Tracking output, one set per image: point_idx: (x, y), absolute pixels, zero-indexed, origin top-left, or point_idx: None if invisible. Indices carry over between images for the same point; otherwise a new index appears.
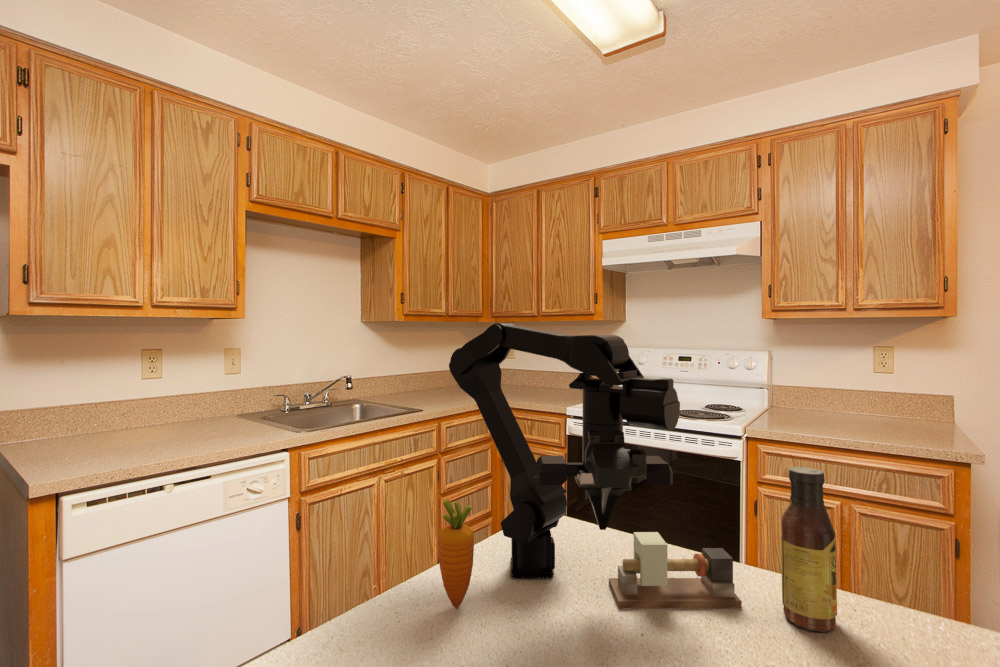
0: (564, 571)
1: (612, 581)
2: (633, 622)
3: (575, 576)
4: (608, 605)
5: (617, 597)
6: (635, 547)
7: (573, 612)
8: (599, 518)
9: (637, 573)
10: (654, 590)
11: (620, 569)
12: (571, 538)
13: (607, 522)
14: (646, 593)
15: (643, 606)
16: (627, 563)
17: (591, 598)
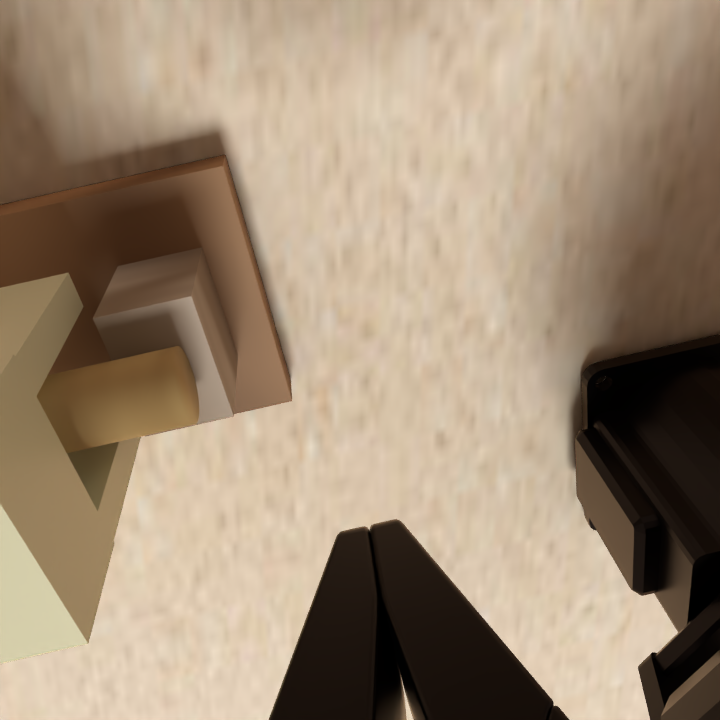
0: (515, 448)
1: (270, 374)
2: (123, 11)
3: (462, 418)
4: (285, 176)
5: (232, 207)
6: (87, 520)
7: (488, 53)
8: (435, 608)
9: None
10: None
11: (213, 375)
12: None
13: (325, 592)
14: None
15: (76, 189)
16: (153, 378)
17: (382, 229)
